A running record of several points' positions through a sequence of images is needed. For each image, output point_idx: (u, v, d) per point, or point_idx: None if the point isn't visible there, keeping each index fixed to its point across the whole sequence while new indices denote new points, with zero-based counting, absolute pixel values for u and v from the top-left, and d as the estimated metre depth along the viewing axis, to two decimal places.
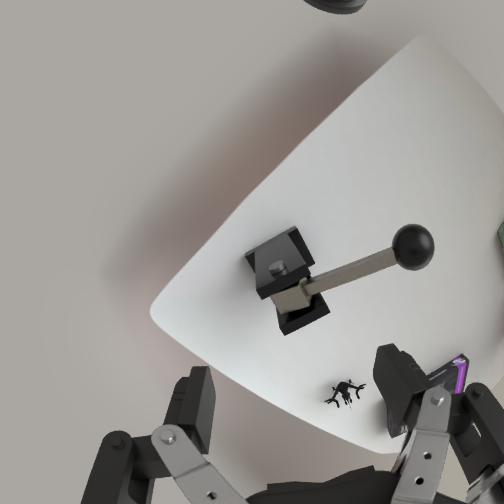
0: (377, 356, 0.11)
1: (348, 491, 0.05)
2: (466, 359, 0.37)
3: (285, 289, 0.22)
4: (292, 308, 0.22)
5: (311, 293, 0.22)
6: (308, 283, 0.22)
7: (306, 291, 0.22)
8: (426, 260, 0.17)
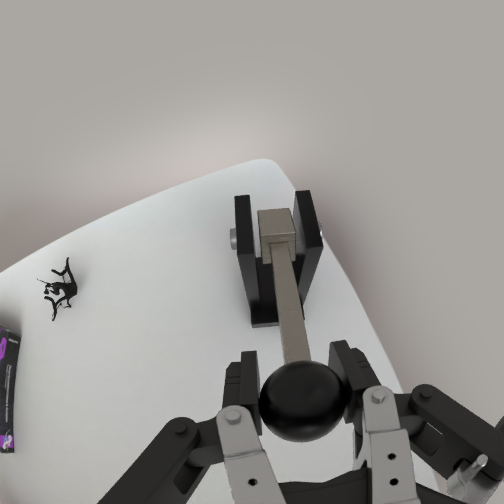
0: (330, 352, 0.12)
1: (348, 491, 0.05)
2: (4, 451, 0.15)
3: (292, 221, 0.17)
4: (263, 220, 0.17)
5: (273, 247, 0.16)
6: (288, 248, 0.16)
7: (277, 244, 0.17)
8: (290, 405, 0.08)
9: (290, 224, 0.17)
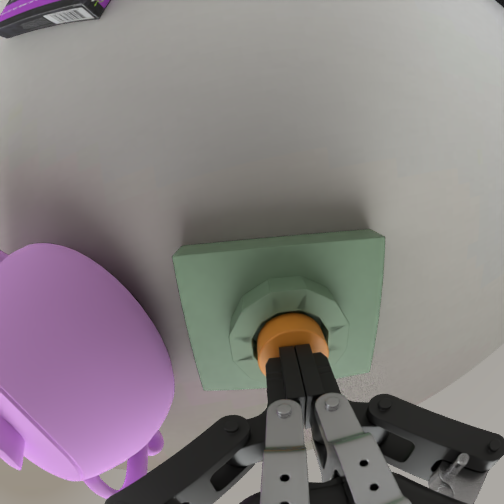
0: None
1: None
2: (89, 4, 0.09)
3: None
4: None
5: None
6: None
7: None
8: None
9: None
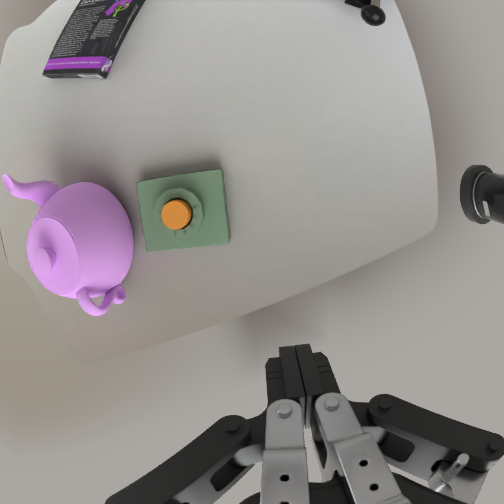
0: None
1: None
2: (101, 73, 0.29)
3: None
4: None
5: None
6: None
7: None
8: (372, 14, 0.22)
9: None
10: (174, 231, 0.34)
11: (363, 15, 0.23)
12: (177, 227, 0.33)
